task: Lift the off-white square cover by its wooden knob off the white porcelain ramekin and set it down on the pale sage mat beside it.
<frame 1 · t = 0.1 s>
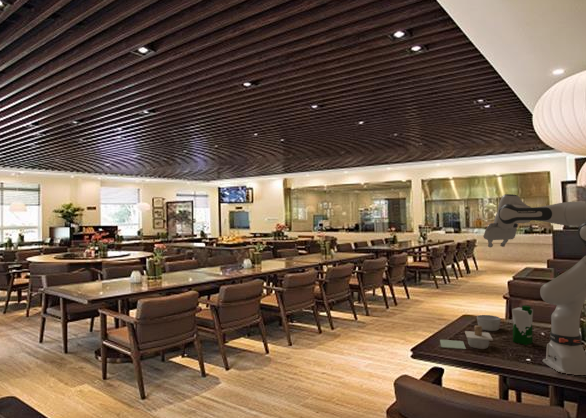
hand: (496, 246, 230), 52 cm above the table, tool tilted 20°, fingers open, 8 cm apart
milk carton: (522, 342, 229), on the table
mat: (452, 344, 225), on the table
ramekin 2: (478, 346, 223), on the table, touching cover
ramekin: (488, 329, 256), on the table
cover: (478, 336, 223), point 5 cm above the table, touching ramekin 2
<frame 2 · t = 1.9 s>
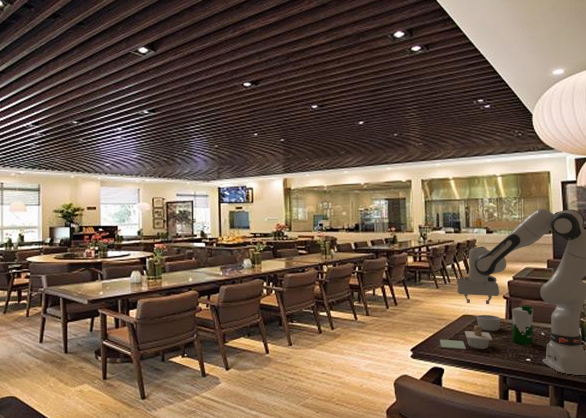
hand: (477, 303, 223), 23 cm above the table, tool pointing down, fingers open, 8 cm apart
nothing on the table moved.
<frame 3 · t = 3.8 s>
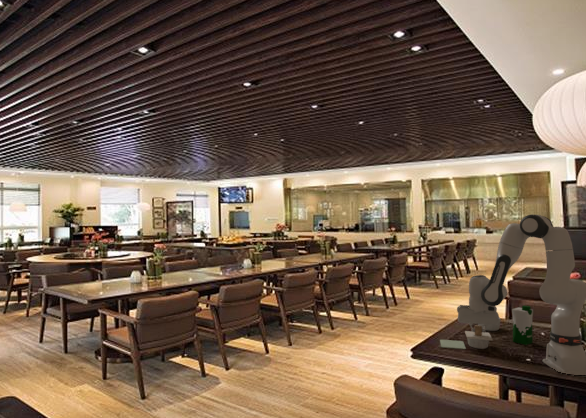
hand: (478, 332, 223), 7 cm above the table, tool pointing down, fingers closed on cover, 4 cm apart
ramekin 2: (478, 346, 223), on the table
cover: (478, 336, 223), point 5 cm above the table, touching gripper
everything else where it was.
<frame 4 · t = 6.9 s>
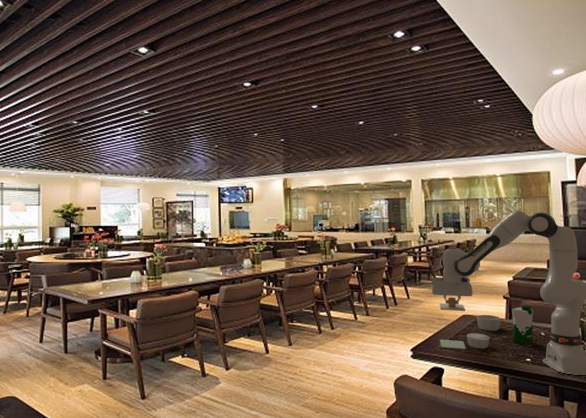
hand: (452, 303, 226), 22 cm above the table, tool pointing down, fingers closed on cover, 4 cm apart
cover: (452, 307, 226), point 20 cm above the table, touching gripper
everything else where it was.
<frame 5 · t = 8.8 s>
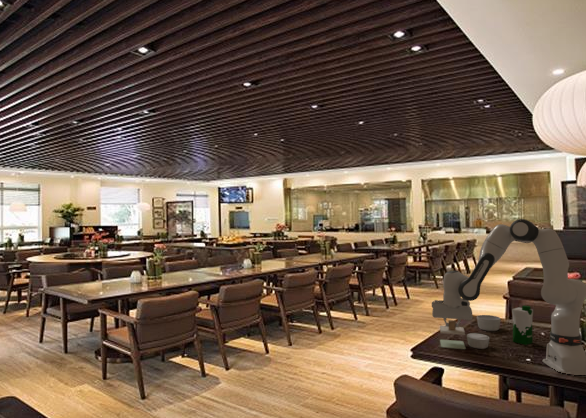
hand: (452, 326, 226), 9 cm above the table, tool pointing down, fingers closed on cover, 4 cm apart
cover: (452, 330, 226), point 7 cm above the table, touching gripper
everything else where it was.
when the fingers open (4 cm above the table, at t = 10.3 s): cover drops 1 cm, resting on mat.
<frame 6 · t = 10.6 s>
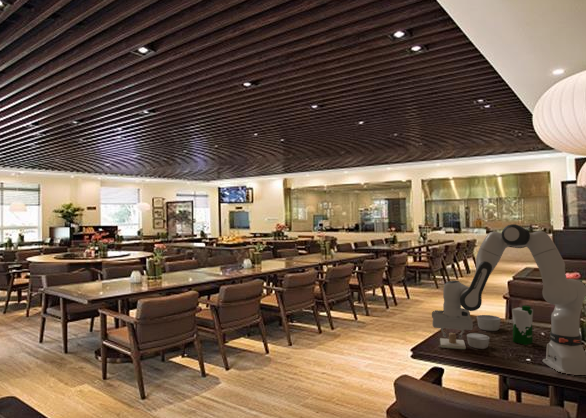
hand: (452, 336, 225), 4 cm above the table, tool pointing down, fingers open, 7 cm apart
cover: (452, 343, 225), resting on mat
everything else where it was.
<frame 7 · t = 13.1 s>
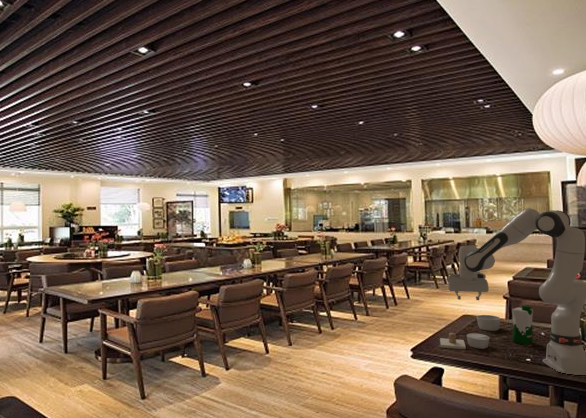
hand: (468, 299, 230), 23 cm above the table, tool pointing down, fingers open, 8 cm apart
nothing on the table moved.
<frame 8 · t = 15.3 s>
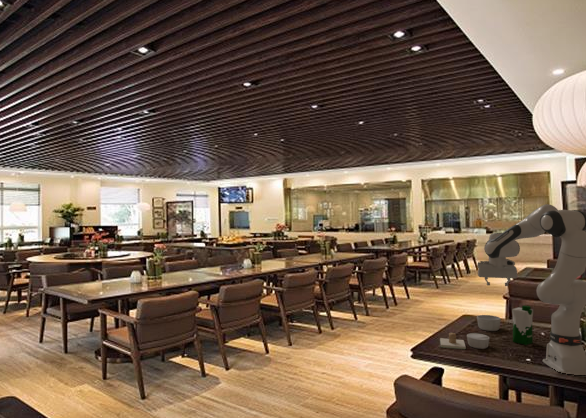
hand: (497, 285, 239), 29 cm above the table, tool pointing down, fingers open, 8 cm apart
nothing on the table moved.
at the end: cover inside the target area on the mat (0.2 cm from its centre), point 0.4 cm above the mat's base; cover touching mat; ramekin 2 moved 0.4 cm from its start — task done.
